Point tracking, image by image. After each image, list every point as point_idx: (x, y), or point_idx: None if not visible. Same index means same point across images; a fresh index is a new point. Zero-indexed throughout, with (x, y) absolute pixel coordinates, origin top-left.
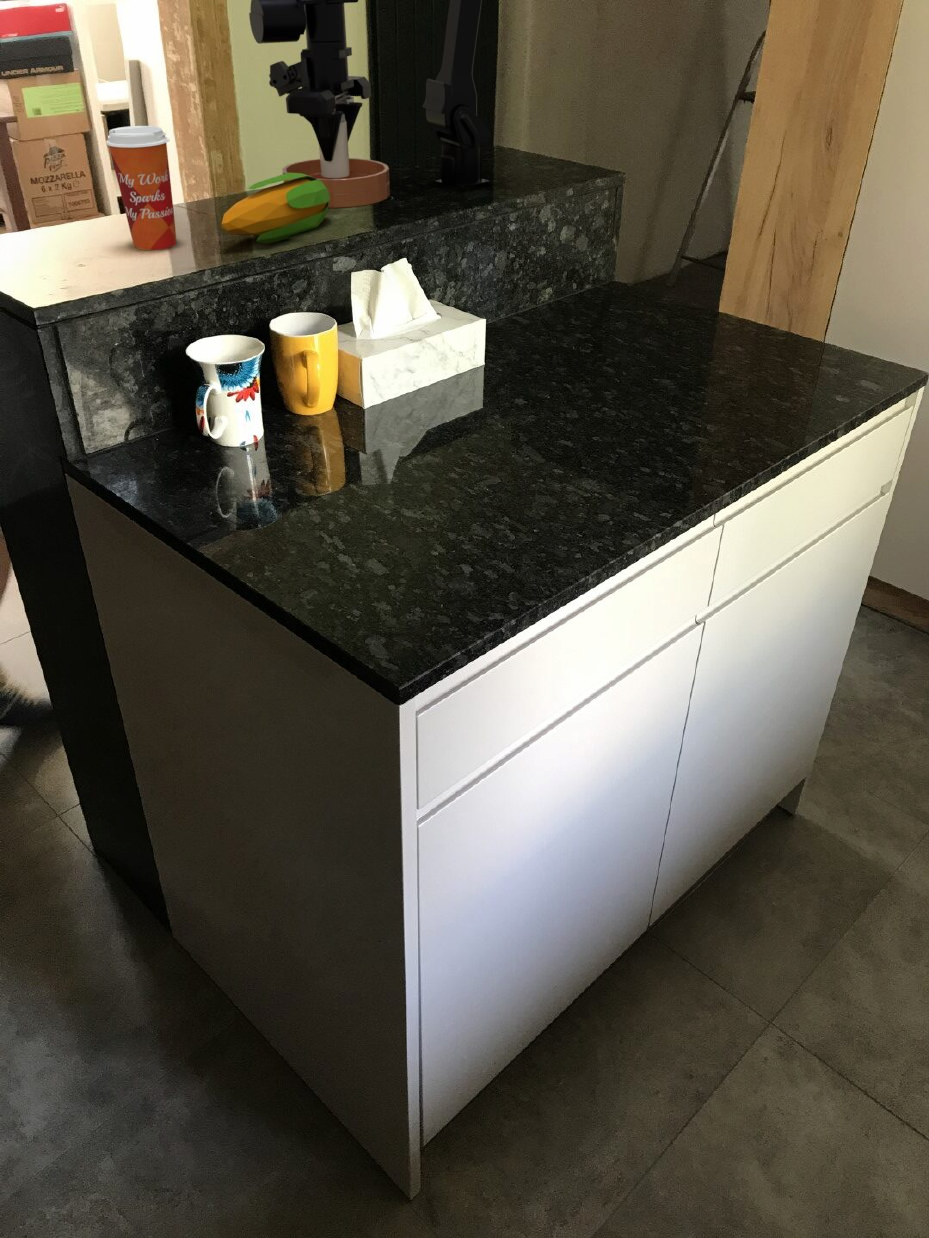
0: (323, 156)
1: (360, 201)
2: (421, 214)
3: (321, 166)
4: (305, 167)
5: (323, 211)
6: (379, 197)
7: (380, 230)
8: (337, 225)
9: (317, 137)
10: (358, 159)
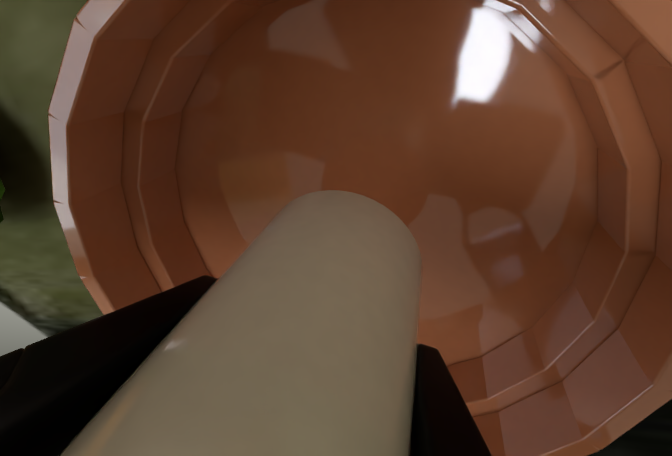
0: (181, 284)
1: None
2: None
3: (271, 223)
4: (611, 21)
5: (1, 214)
6: None
7: (53, 334)
8: (42, 237)
9: (11, 360)
10: (627, 407)
